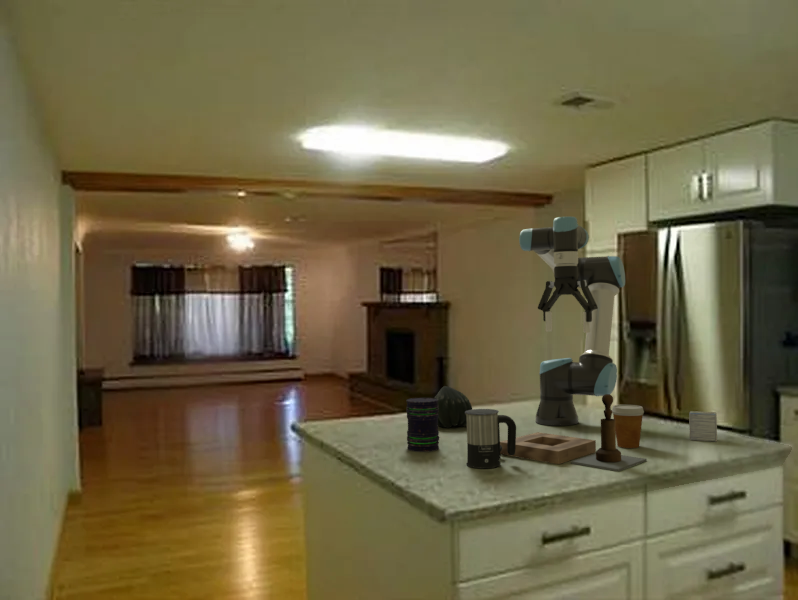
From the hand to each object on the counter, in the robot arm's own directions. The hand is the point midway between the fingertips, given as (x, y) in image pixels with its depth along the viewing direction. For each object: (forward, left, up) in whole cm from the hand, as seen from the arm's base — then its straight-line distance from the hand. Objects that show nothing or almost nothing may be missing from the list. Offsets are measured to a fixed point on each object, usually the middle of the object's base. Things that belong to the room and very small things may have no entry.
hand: (567, 332), depth 226 cm
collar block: (+6, -21, -34) cm, 41 cm away
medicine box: (+32, +27, -35) cm, 54 cm away
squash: (-45, -5, -35) cm, 57 cm away
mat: (+25, -20, -34) cm, 47 cm away
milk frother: (-1, -42, -35) cm, 54 cm away
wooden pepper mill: (+25, -20, -34) cm, 46 cm away
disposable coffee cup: (+19, +3, -35) cm, 39 cm away
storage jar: (-26, -40, -35) cm, 59 cm away
